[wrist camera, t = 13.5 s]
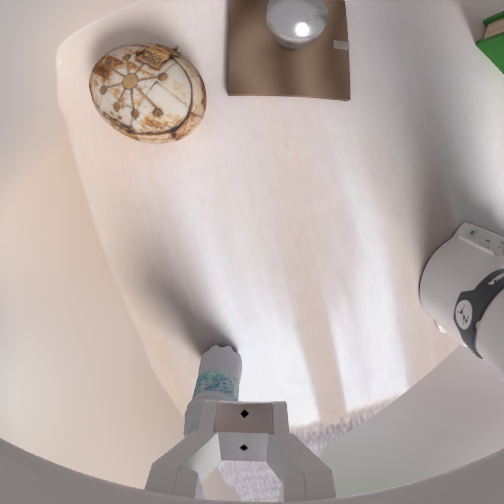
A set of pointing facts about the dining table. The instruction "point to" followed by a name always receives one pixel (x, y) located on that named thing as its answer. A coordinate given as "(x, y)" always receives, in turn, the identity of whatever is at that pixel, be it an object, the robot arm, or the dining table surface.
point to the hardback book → (494, 40)
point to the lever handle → (296, 21)
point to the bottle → (214, 382)
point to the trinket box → (148, 92)
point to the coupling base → (287, 56)
